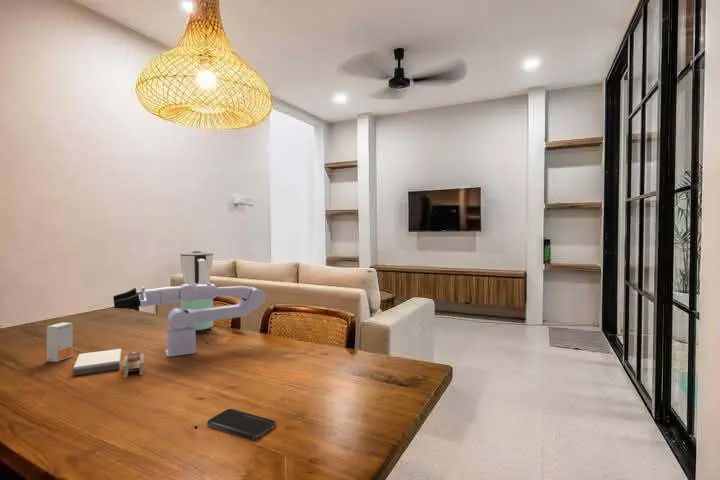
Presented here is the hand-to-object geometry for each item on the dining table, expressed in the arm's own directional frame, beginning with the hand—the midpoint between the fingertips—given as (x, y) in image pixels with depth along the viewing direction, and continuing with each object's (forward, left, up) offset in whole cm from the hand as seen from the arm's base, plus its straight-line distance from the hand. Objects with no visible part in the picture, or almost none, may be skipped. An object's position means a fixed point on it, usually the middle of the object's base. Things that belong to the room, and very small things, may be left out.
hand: (113, 302), depth 130 cm
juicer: (-30, -28, -21) cm, 46 cm away
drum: (-6, +11, -17) cm, 21 cm away
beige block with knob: (-6, +11, -21) cm, 24 cm away
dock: (+4, 0, -21) cm, 21 cm away
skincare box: (+16, -13, -21) cm, 29 cm away
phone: (-28, +62, -21) cm, 71 cm away
